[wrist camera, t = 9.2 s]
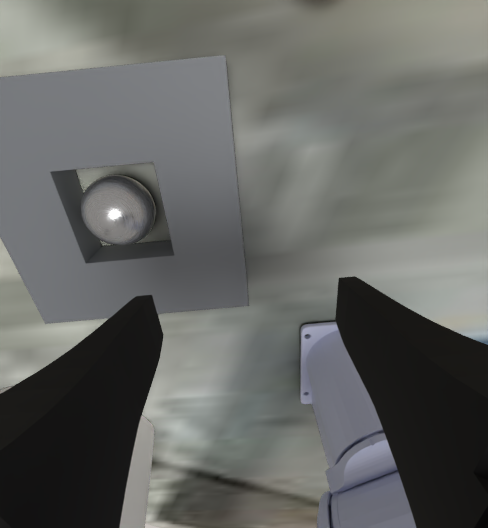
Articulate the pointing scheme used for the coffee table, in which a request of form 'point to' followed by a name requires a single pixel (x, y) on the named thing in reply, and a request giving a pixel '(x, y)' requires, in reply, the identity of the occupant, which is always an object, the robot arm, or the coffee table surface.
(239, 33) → the coffee table surface
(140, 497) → the foam cup
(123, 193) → the steel ball
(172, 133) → the grey square frame
